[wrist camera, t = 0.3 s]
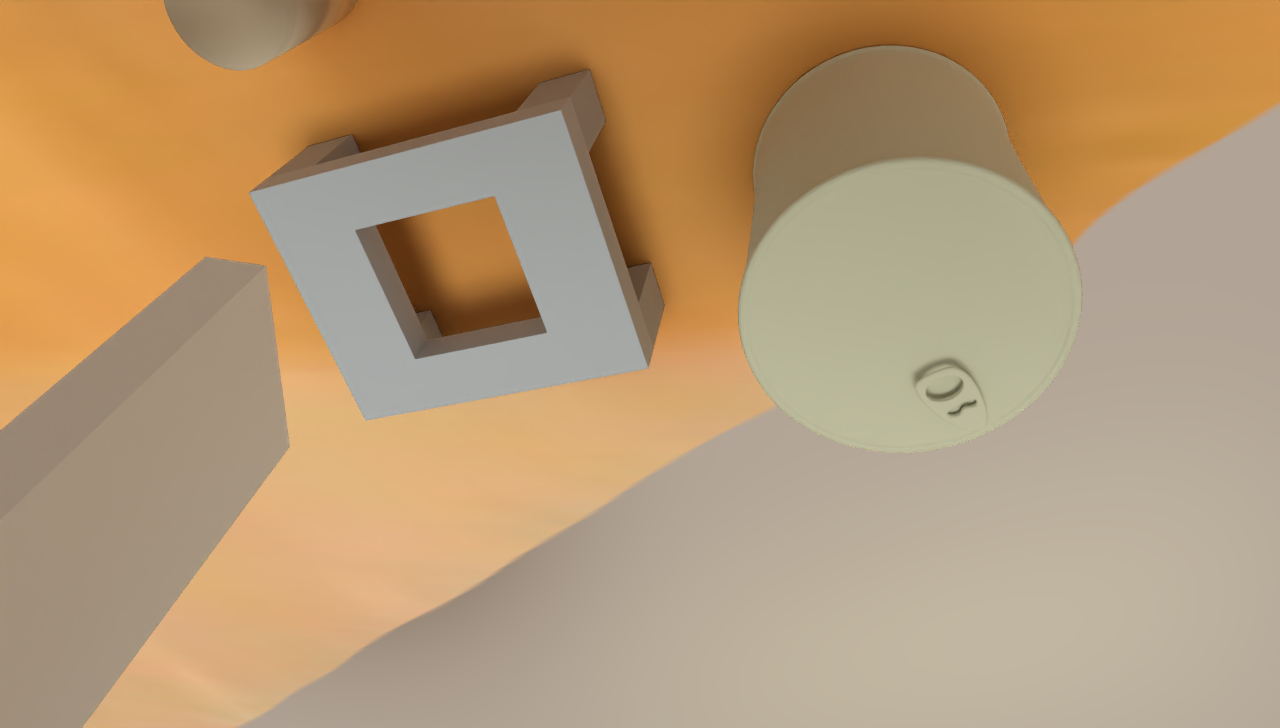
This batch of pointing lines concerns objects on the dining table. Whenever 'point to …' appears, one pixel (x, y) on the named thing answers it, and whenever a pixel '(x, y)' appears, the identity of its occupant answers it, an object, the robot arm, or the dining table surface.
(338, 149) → the square frame with posts
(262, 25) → the short dowel
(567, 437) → the dining table surface
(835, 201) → the can
